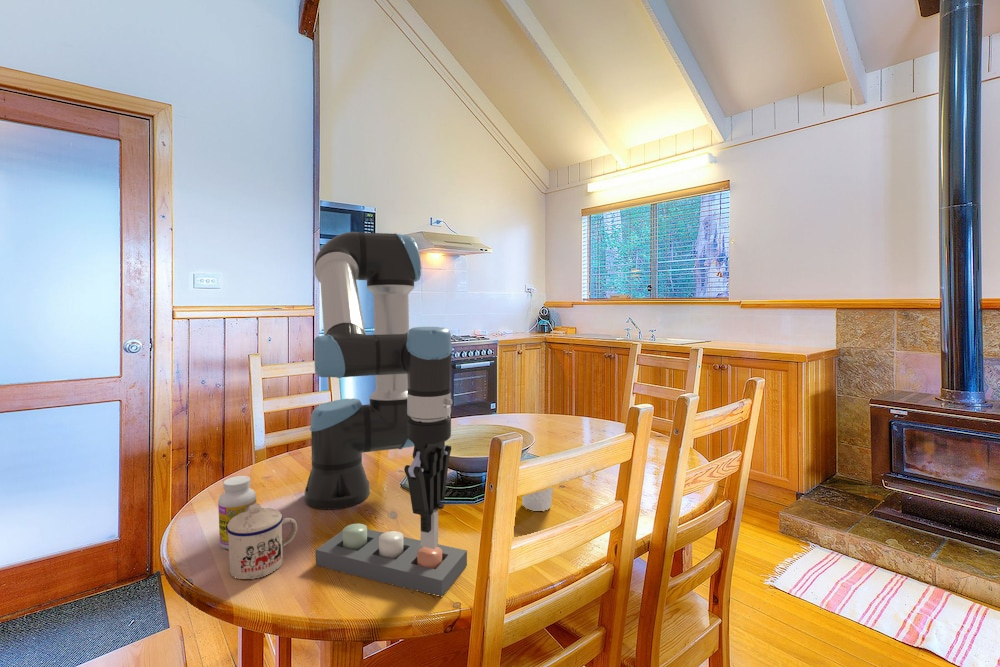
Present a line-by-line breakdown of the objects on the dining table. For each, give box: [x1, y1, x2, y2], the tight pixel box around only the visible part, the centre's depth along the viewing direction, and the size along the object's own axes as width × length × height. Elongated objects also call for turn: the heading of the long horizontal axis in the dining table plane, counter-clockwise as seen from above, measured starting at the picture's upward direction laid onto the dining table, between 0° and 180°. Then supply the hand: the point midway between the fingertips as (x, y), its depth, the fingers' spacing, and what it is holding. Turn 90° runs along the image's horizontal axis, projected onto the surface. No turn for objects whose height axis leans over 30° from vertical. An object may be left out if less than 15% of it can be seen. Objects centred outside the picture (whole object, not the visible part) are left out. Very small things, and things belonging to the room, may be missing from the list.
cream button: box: [379, 530, 404, 560], centre depth 89 cm, size 4×4×4 cm
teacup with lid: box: [227, 503, 298, 580], centre depth 89 cm, size 12×9×12 cm
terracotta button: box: [417, 547, 442, 569], centre depth 87 cm, size 4×4×4 cm
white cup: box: [521, 487, 554, 512], centre depth 115 cm, size 8×8×10 cm
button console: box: [314, 528, 468, 597], centre depth 89 cm, size 26×10×3 cm, turn 70°
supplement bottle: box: [217, 475, 257, 550], centre depth 97 cm, size 7×7×13 cm
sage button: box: [342, 523, 368, 551], centre depth 92 cm, size 4×4×4 cm
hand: (429, 545), depth 87 cm, fingers closed
